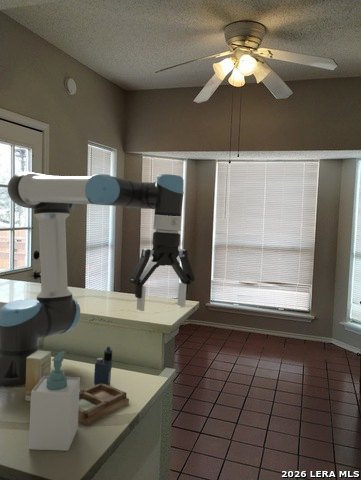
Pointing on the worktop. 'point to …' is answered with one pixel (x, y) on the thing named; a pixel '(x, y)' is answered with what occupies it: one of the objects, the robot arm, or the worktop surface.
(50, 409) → the soap bottle
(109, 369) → the vaping device
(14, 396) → the worktop surface
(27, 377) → the skincare box
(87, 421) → the divided wooden tray
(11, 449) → the worktop surface
